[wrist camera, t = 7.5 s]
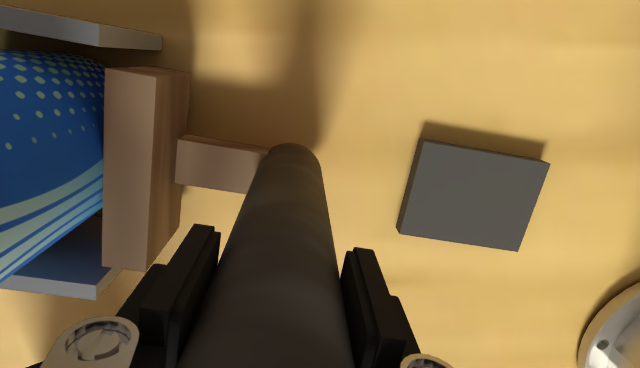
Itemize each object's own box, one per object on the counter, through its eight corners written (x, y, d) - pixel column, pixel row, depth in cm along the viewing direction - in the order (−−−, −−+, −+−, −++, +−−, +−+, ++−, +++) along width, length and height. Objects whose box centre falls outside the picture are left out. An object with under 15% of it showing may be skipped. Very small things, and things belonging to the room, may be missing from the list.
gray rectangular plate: (540, 159, 24) (550, 163, 23) (510, 244, 26) (517, 251, 25) (419, 138, 24) (424, 141, 23) (395, 227, 25) (399, 234, 24)
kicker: (335, 99, 21) (496, 296, 4) (307, 245, 24) (322, 771, 6) (152, 65, 20) (-837, 110, 3) (144, 221, 23) (-380, 763, 5)
